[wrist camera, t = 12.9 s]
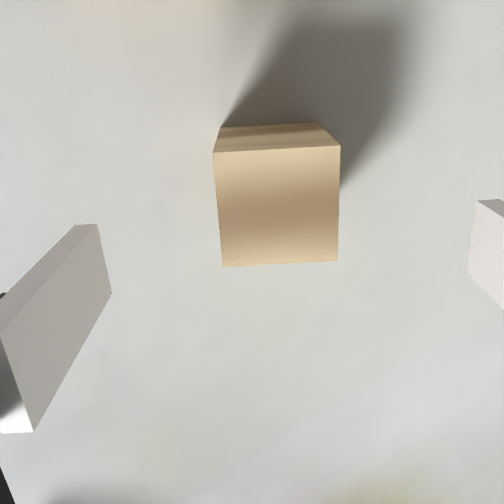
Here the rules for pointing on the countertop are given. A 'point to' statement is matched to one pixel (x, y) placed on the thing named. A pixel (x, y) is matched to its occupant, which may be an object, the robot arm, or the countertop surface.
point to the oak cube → (277, 193)
